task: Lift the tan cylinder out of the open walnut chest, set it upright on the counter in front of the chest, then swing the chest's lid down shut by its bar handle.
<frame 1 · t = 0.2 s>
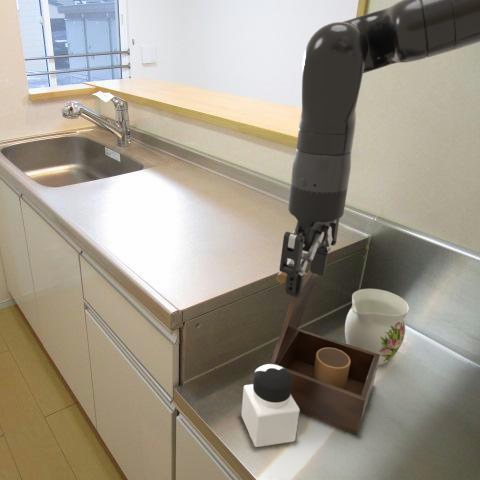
hand: (305, 283, 69), 27 cm above the worktop, tool pointing down, fingers open, 8 cm apart
medicine bottle: (267, 429, 77), on the worktop
tan cylinder: (327, 392, 84), point 1 cm above the worktop, touching chest
lid: (285, 304, 82), point 17 cm above the worktop, hinge at 80.0°
chest: (321, 393, 85), on the worktop
pitcher: (371, 354, 95), on the worktop
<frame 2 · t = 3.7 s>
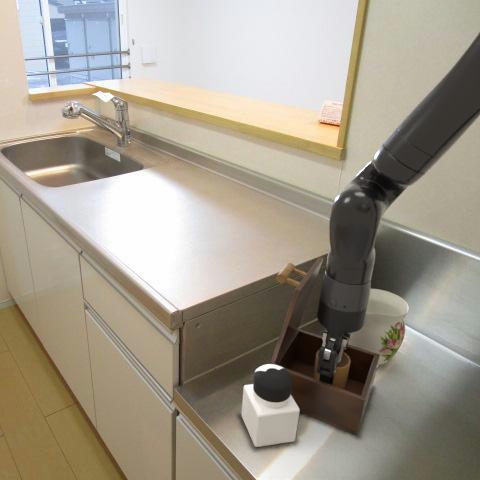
hand: (329, 376, 82), 4 cm above the worktop, tool pointing down, fingers closed on tan cylinder, 5 cm apart
tan cylinder: (327, 392, 84), point 1 cm above the worktop, touching chest, gripper
everything else where it was.
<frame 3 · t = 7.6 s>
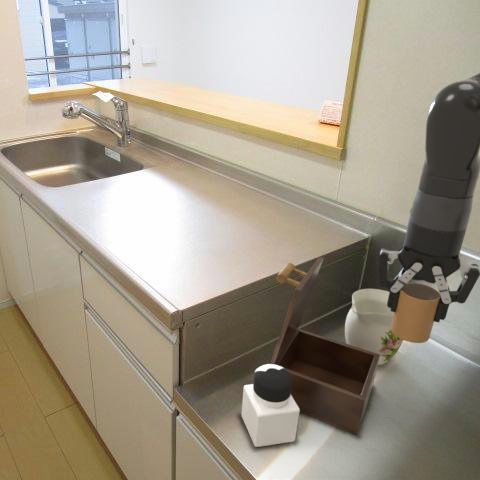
hand: (414, 314, 74), 19 cm above the worktop, tool pointing down, fingers closed on tan cylinder, 5 cm apart
tan cylinder: (409, 332, 76), point 16 cm above the worktop, touching gripper
everything else where it was.
when the fingers open (4 cm above the worktop, at t = 11.9 s): tan cylinder stays where it is, on the worktop.
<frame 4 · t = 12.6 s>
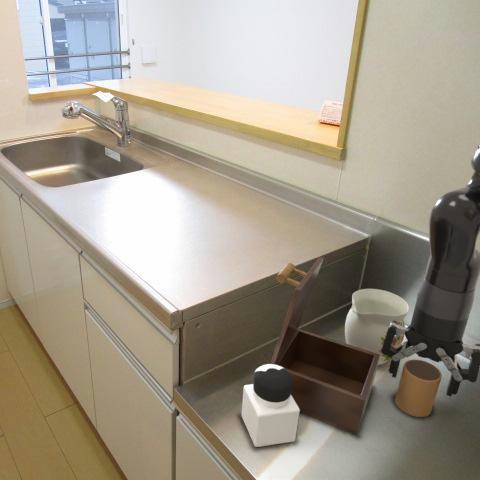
hand: (421, 383, 80), 5 cm above the worktop, tool pointing down, fingers open, 8 cm apart
tan cylinder: (412, 404, 82), on the worktop
everything else where it was.
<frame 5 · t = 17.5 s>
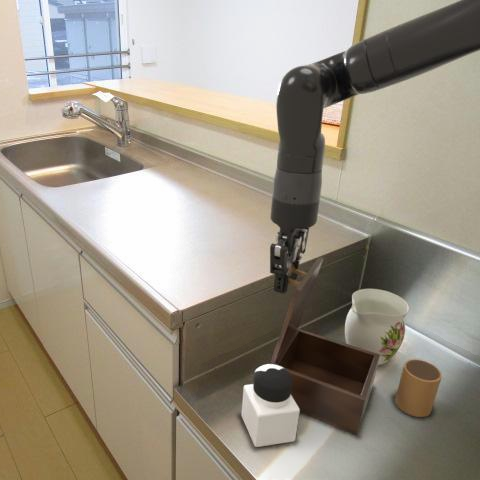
hand: (285, 284, 81), 21 cm above the worktop, tool pointing down, fingers closed on lid, 5 cm apart
lid: (285, 304, 82), point 17 cm above the worktop, hinge at 80.0°, touching gripper
everything else where it was.
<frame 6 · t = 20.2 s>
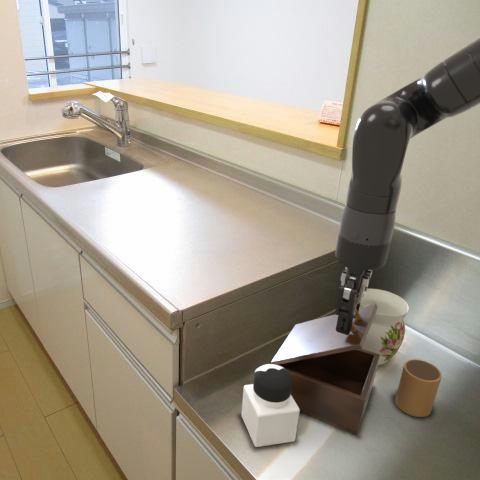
hand: (346, 323, 77), 17 cm above the worktop, tool pointing down, fingers closed on lid, 5 cm apart
lid: (318, 324, 80), point 15 cm above the worktop, hinge at 34.9°, touching gripper
everything else where it was.
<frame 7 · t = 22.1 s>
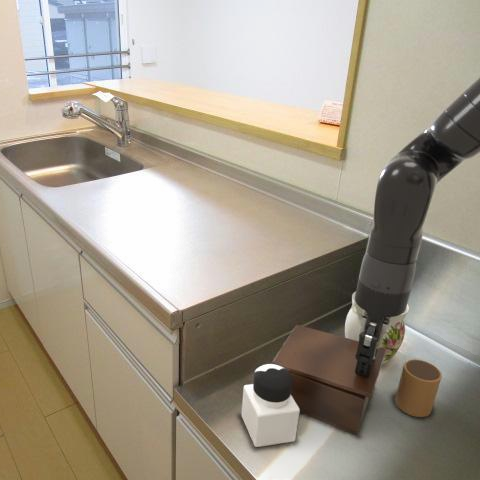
hand: (365, 365, 78), 9 cm above the worktop, tool pointing down, fingers closed on lid, 5 cm apart
lid: (330, 346, 80), point 11 cm above the worktop, hinge at 2.8°, touching gripper
everything else where it was.
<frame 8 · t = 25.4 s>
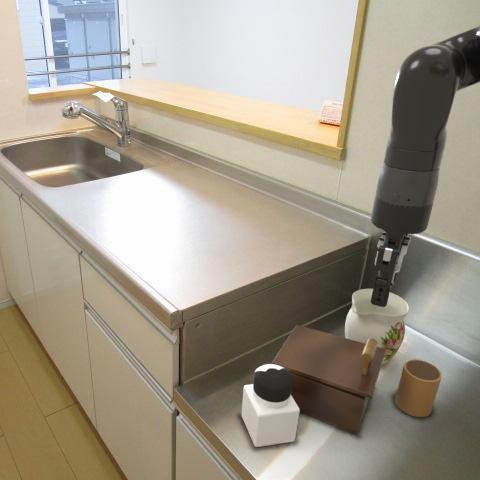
hand: (383, 292, 71), 24 cm above the worktop, tool pointing down, fingers open, 8 cm apart
lid: (330, 347, 80), point 11 cm above the worktop, hinge at 2.3°
everything else where it was.
at the end: tan cylinder inside the target area (0.2 cm from its centre), on the worktop; tan cylinder tilted 0°; lid at +2° (first picture: +80°) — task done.
